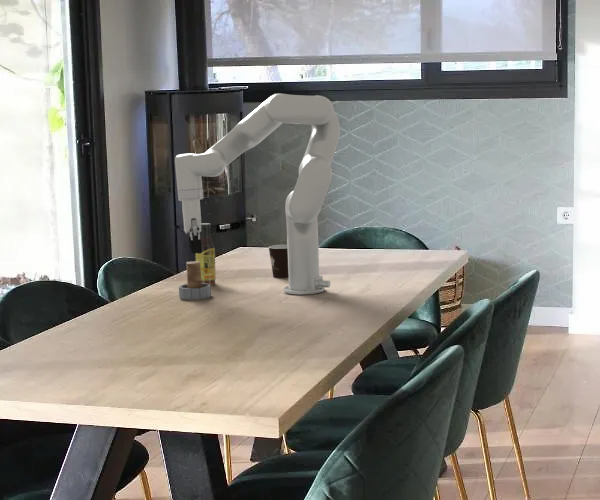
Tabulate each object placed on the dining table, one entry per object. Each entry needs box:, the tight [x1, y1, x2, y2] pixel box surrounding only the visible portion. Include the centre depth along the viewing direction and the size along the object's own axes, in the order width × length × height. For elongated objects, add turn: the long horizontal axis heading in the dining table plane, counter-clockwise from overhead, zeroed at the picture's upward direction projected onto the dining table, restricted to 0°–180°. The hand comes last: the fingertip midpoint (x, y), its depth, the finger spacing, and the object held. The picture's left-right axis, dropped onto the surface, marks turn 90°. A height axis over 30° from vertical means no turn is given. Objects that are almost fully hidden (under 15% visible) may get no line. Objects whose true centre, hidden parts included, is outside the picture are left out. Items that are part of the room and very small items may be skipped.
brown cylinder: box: [185, 260, 202, 288], centre depth 340 cm, size 4×4×10 cm
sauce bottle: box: [195, 222, 216, 286], centre depth 360 cm, size 6×6×20 cm
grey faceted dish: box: [178, 283, 212, 301], centre depth 341 cm, size 10×10×3 cm
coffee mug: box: [268, 244, 289, 279], centre depth 372 cm, size 12×9×10 cm
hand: (195, 250), depth 339 cm, fingers open, 9 cm apart
